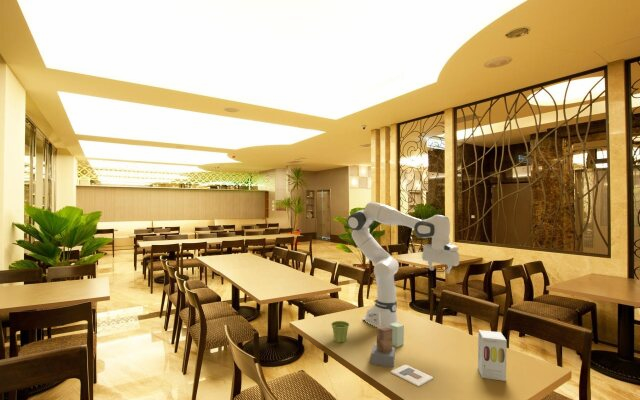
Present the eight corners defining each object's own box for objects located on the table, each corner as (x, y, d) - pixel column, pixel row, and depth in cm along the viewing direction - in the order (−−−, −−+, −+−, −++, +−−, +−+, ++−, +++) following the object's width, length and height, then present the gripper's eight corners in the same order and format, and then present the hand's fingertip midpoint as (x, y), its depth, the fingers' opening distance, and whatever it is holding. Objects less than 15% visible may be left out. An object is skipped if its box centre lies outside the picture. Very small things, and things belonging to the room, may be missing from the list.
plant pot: (340, 346, 169) (340, 328, 169) (327, 340, 176) (327, 323, 176) (352, 341, 175) (352, 324, 175) (340, 335, 182) (340, 319, 182)
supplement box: (481, 378, 138) (481, 337, 139) (477, 367, 147) (477, 329, 147) (507, 381, 136) (507, 339, 136) (501, 370, 145) (501, 331, 145)
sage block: (389, 343, 172) (389, 324, 172) (395, 341, 175) (395, 322, 175) (397, 347, 168) (397, 327, 168) (403, 344, 171) (403, 325, 171)
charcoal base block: (373, 355, 159) (373, 344, 159) (394, 358, 157) (394, 347, 157) (370, 364, 150) (370, 353, 150) (393, 368, 147) (393, 356, 147)
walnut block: (376, 349, 154) (376, 327, 154) (384, 346, 157) (384, 325, 157) (384, 353, 150) (384, 331, 150) (392, 351, 153) (392, 329, 153)
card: (390, 372, 142) (390, 370, 142) (405, 365, 149) (405, 363, 149) (418, 386, 131) (418, 384, 131) (433, 378, 138) (433, 376, 138)
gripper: (420, 243, 183) (419, 268, 183) (454, 248, 167) (453, 275, 167) (427, 243, 187) (426, 267, 187) (461, 247, 171) (460, 274, 170)
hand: (439, 271), depth 177 cm, fingers open, 8 cm apart
